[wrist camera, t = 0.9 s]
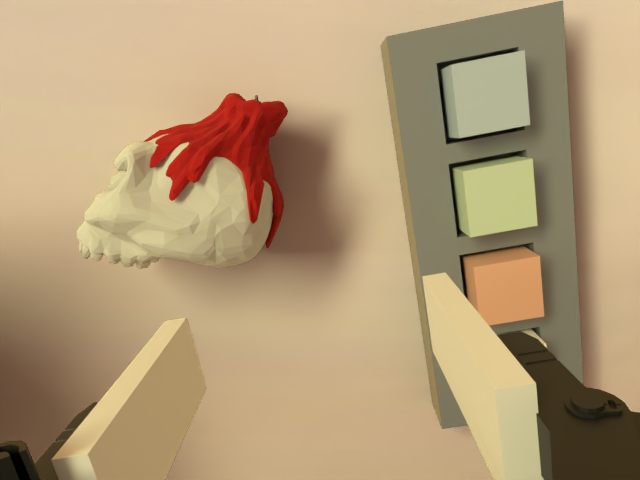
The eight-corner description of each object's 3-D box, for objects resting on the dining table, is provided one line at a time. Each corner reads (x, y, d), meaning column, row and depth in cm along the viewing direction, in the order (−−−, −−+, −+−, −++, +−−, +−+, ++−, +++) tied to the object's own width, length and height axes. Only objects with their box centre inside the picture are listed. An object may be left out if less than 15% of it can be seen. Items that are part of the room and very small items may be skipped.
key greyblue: (448, 137, 31) (459, 138, 28) (440, 69, 30) (451, 64, 27) (513, 124, 31) (529, 124, 28) (507, 56, 30) (524, 50, 27)
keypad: (432, 404, 39) (442, 428, 36) (380, 45, 32) (386, 36, 29) (563, 384, 38) (584, 407, 35) (539, 13, 31) (562, 0, 28)
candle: (104, 234, 35) (199, 60, 33) (233, 305, 36) (330, 140, 35) (37, 253, 26) (162, 17, 24) (211, 347, 27) (340, 126, 26)
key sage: (459, 228, 32) (470, 237, 30) (451, 167, 31) (463, 171, 29) (521, 217, 32) (537, 225, 30) (515, 155, 31) (532, 158, 29)
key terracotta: (468, 312, 34) (480, 326, 31) (462, 256, 33) (473, 267, 30) (527, 302, 34) (544, 316, 31) (523, 245, 33) (539, 255, 30)
